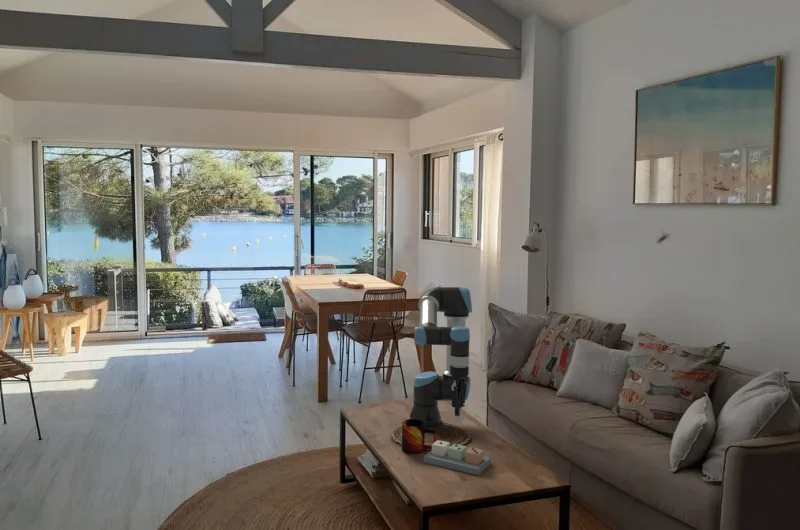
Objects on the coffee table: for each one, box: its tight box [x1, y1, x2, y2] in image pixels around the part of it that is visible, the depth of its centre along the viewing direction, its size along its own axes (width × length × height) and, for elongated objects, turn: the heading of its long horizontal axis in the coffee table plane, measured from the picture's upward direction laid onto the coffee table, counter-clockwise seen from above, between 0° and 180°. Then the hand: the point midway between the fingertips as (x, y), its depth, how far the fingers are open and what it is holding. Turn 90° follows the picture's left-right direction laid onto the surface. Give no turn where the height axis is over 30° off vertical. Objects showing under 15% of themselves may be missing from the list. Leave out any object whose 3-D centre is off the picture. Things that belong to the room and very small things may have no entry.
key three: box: [465, 447, 485, 465], centre depth 258 cm, size 6×6×4 cm
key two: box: [448, 443, 467, 461], centre depth 262 cm, size 6×6×4 cm
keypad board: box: [423, 449, 492, 476], centre depth 262 cm, size 13×24×2 cm, turn 60°
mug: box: [401, 418, 437, 456], centre depth 274 cm, size 10×14×12 cm
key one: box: [431, 439, 451, 457], centre depth 265 cm, size 6×6×4 cm
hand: (458, 422), depth 260 cm, fingers closed
